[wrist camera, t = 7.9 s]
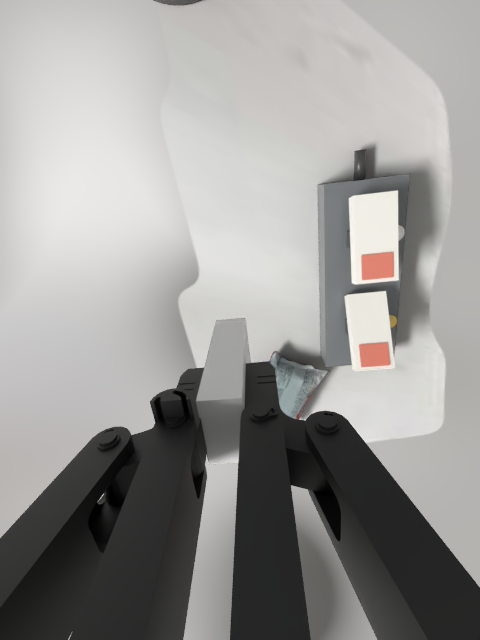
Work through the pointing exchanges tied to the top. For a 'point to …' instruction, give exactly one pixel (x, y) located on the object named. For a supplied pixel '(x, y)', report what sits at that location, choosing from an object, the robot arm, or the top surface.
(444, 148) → the top surface
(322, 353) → the rocker switch box
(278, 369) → the packaged food
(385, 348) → the white switch paddle
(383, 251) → the rocker white
